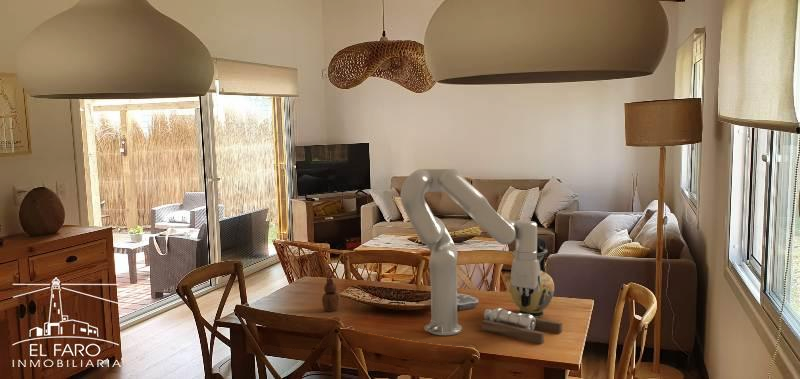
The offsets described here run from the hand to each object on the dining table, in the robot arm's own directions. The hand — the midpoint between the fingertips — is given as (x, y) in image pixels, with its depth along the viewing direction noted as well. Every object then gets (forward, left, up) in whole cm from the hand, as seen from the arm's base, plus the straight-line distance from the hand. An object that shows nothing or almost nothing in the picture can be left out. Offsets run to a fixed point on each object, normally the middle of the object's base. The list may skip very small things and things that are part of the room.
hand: (525, 305), depth 232 cm
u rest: (0, +2, -10) cm, 10 cm away
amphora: (+20, +9, -10) cm, 24 cm away
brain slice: (+12, +41, -11) cm, 44 cm away
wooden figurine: (-24, +77, -10) cm, 81 cm away
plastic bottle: (-1, -4, -6) cm, 7 cm away
